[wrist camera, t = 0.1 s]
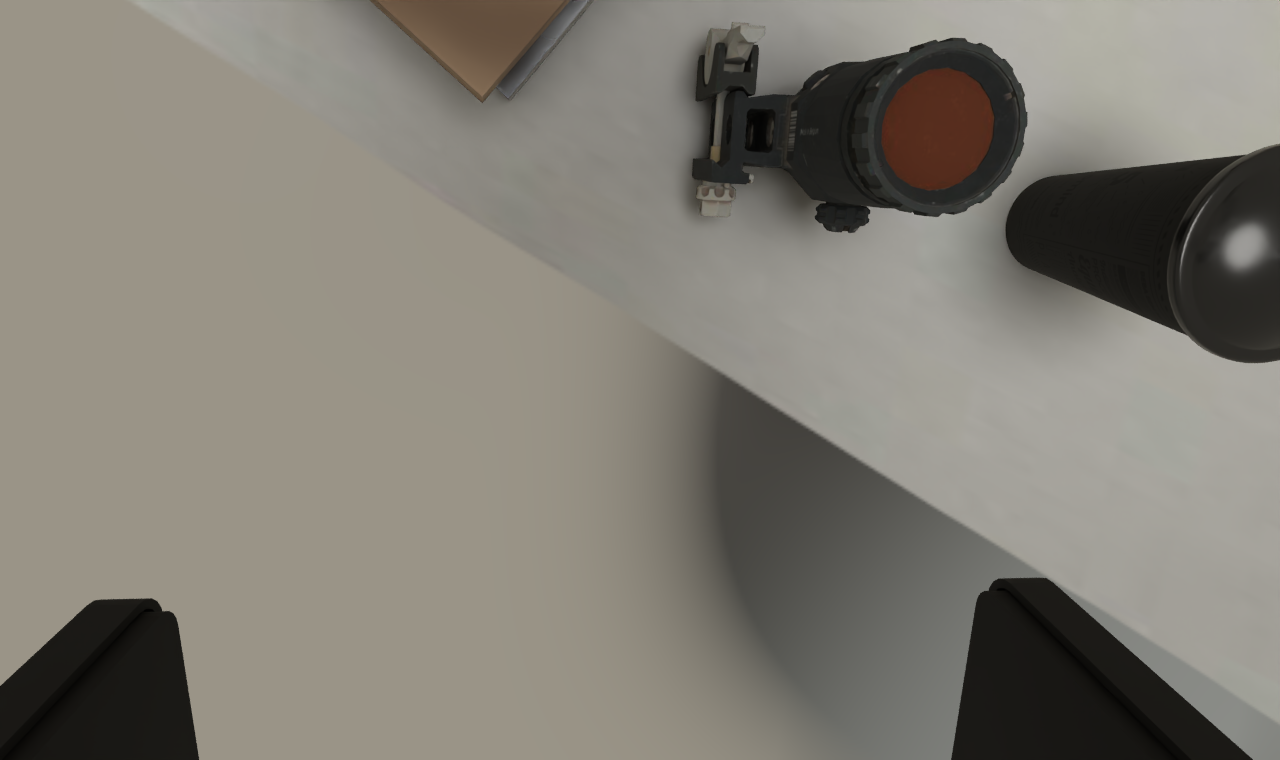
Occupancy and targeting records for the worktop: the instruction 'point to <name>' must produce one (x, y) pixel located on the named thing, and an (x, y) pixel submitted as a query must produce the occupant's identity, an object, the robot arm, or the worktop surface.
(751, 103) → the scope
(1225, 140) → the worktop surface
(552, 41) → the dark board base
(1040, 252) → the drinking cup
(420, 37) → the levelling plate
